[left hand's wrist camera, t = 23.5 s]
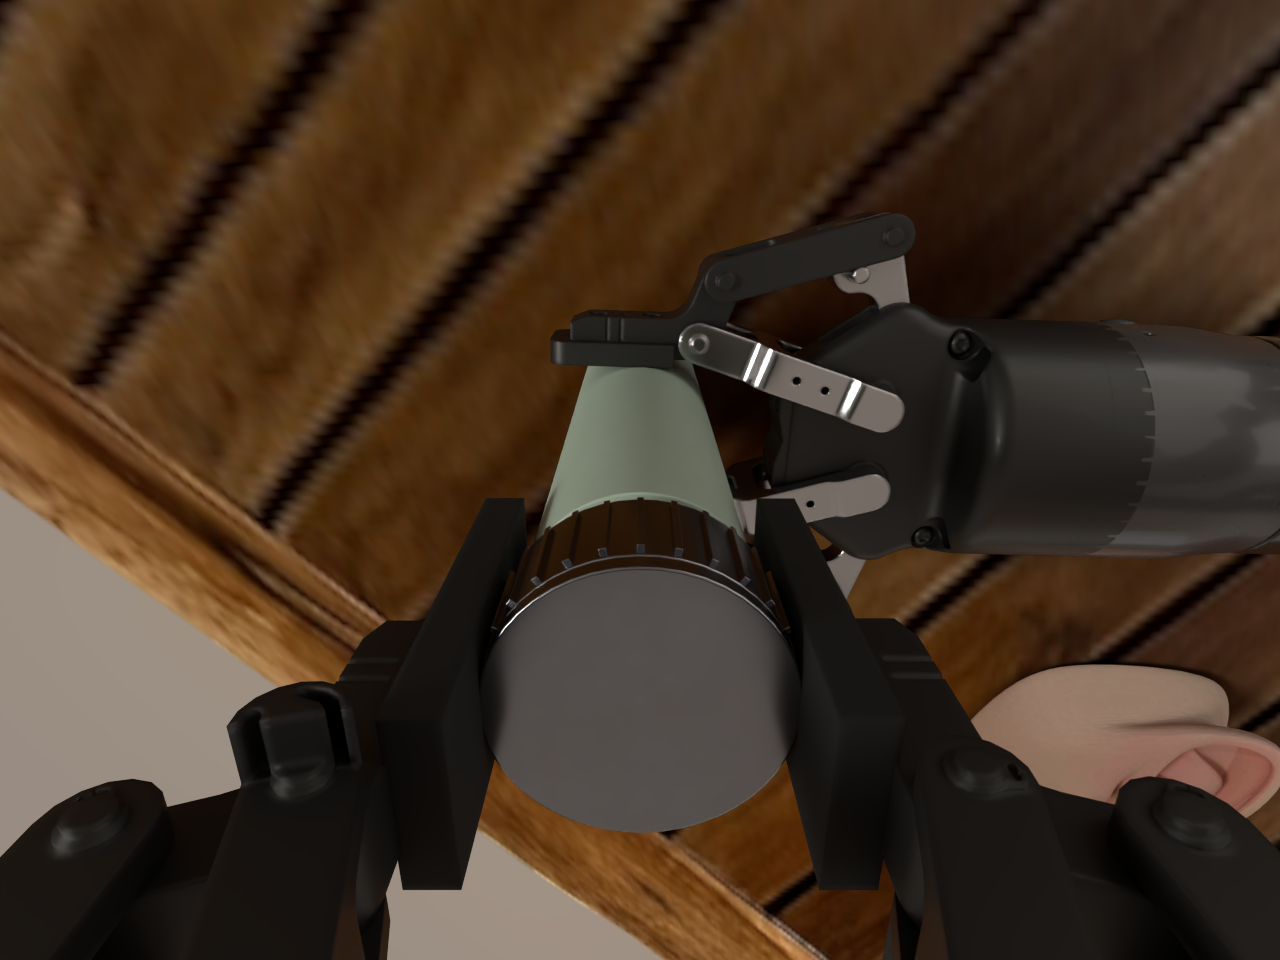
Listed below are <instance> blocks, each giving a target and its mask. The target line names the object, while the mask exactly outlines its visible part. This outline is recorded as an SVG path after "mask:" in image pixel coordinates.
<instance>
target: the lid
mask: <svg viewBox="0 0 1280 960" xmlns="http://www.w3.org/2000/svg"><path fill="white" fill-rule="evenodd" d="M489 633H492V637H491V640H490V643H489V646H488V649H487V652H486V655H485V660H484V664H483V667H482V671H481V674H480V679H479V695H480V706H481V716H482V725H483V734H484V736H485V739H486V742H487V744H488V747H489V749H490V751H491V752H492V754H493V756H494V758H495V760H496V761H497V763H498V764H499V766H500V767H501V768H502V770H503V771H504V772H505V774H506V775H507V776H508V777H509V778H510V779H511V780H512V781H513V782H514V783H515V784H516V785H517V786H518V787H519V788H520V789H521V790H522V791H523V792H524V793H526V794H527V795H528V796H529V797H531V798H532V799H533V800H534V801H536V802H538V803H539V804H541V805H543V806H544V807H546V808H547V809H549V810H551V811H553V812H555V813H557V814H559V815H561V816H563V817H565V818H568V819H570V820H573V821H576V822H579V823H582V824H585V825H589V826H593V827H597V828H601V829H606V830H614V831H621V832H641V833H644V832H660V831H668V830H674V829H680V828H685V827H688V826H692V825H696V824H699V823H702V822H705V821H708V820H710V819H713V818H715V817H718V816H720V815H722V814H724V813H726V812H728V811H730V810H732V809H734V808H736V807H737V806H739V805H740V804H742V803H743V802H745V801H746V800H748V799H749V798H751V797H752V796H753V795H754V794H755V793H757V792H758V791H759V790H760V789H761V788H762V787H764V786H765V785H766V784H767V782H768V781H769V780H770V779H771V778H772V777H773V776H774V775H775V774H776V773H777V771H778V770H779V768H780V767H781V765H782V764H783V763H784V761H785V760H786V758H787V756H788V754H789V752H790V750H791V748H792V746H793V744H794V742H795V740H796V736H797V732H798V723H799V713H800V703H801V692H802V679H801V673H800V670H799V667H798V664H797V661H796V656H795V653H794V650H793V647H792V644H791V641H790V638H789V635H788V634H790V633H792V629H791V627H790V624H789V621H788V618H787V615H786V612H785V609H784V606H783V604H782V601H781V598H780V595H779V592H778V589H777V586H776V583H775V580H774V578H773V575H772V573H771V571H769V572H766V571H765V569H764V567H763V565H762V562H761V559H760V556H759V553H758V550H757V549H756V548H755V547H753V548H750V547H749V545H748V544H747V543H746V542H745V541H744V540H743V539H742V538H741V537H740V536H739V535H738V534H737V531H736V529H735V528H734V527H733V526H730V528H729V527H728V526H726V525H725V524H723V523H721V522H720V521H718V520H716V519H715V518H713V517H711V516H710V515H709V512H707V511H705V510H703V511H702V512H700V511H698V510H696V509H694V508H690V507H687V506H683V505H680V504H678V502H677V501H673V500H671V502H666V501H659V500H644V497H637V499H634V500H621V501H615V502H610V500H608V501H604V504H600V505H597V506H594V507H591V508H588V509H585V510H582V511H580V512H579V511H578V510H576V511H574V512H572V516H570V517H568V518H566V519H564V520H563V521H561V522H560V523H558V524H556V525H555V526H553V527H551V526H548V527H547V528H546V529H545V531H544V535H542V536H541V537H540V538H539V539H538V540H537V541H536V542H535V543H534V544H533V546H532V547H531V548H529V547H526V548H525V549H524V550H523V553H522V556H521V559H520V562H519V565H518V566H517V569H516V571H515V572H512V571H510V572H509V575H508V577H507V580H506V583H505V586H504V589H503V592H502V595H501V598H500V600H499V603H498V606H497V609H496V612H495V615H494V618H493V621H492V624H491V626H490V629H489Z"/></svg>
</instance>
